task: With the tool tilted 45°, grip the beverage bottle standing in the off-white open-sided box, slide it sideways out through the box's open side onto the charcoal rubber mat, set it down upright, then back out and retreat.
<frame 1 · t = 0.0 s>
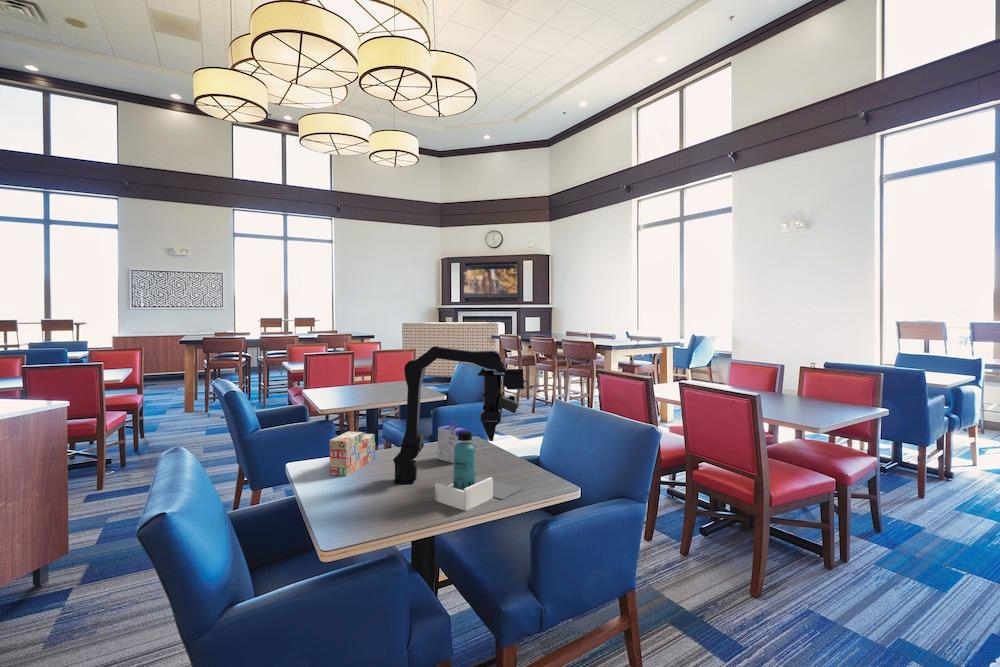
hand: (492, 437, 153), 15 cm above the table, tool pointing down, fingers open, 9 cm apart
stack of blocks: (353, 467, 169), on the table
beverage bottle: (464, 500, 138), resting in open-sided box
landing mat: (489, 487, 148), on the table
open-sided box: (464, 499, 138), on the table
ink cartridge box: (451, 460, 177), on the table
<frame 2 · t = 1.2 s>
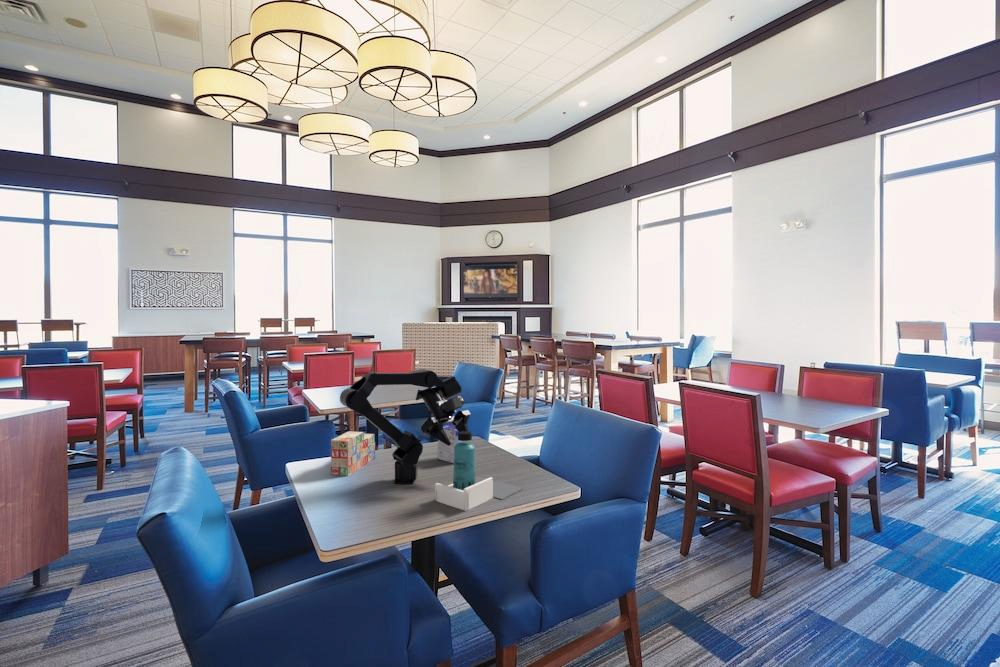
hand: (459, 442, 151), 13 cm above the table, tool tilted 45°, fingers open, 9 cm apart
nothing on the table moved.
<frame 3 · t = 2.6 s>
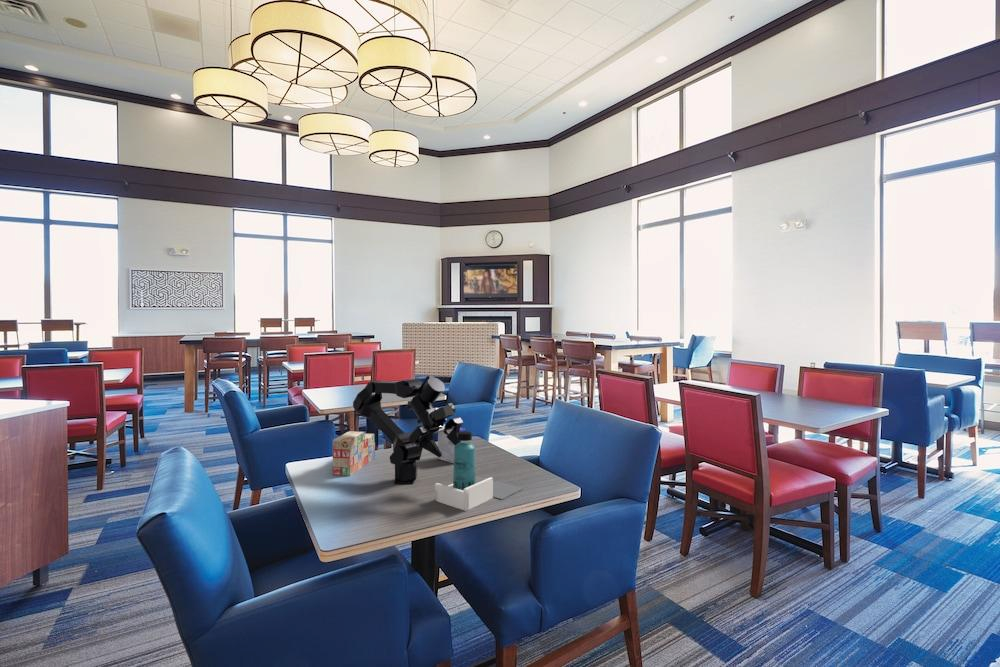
hand: (451, 452, 141), 13 cm above the table, tool tilted 45°, fingers open, 9 cm apart
nothing on the table moved.
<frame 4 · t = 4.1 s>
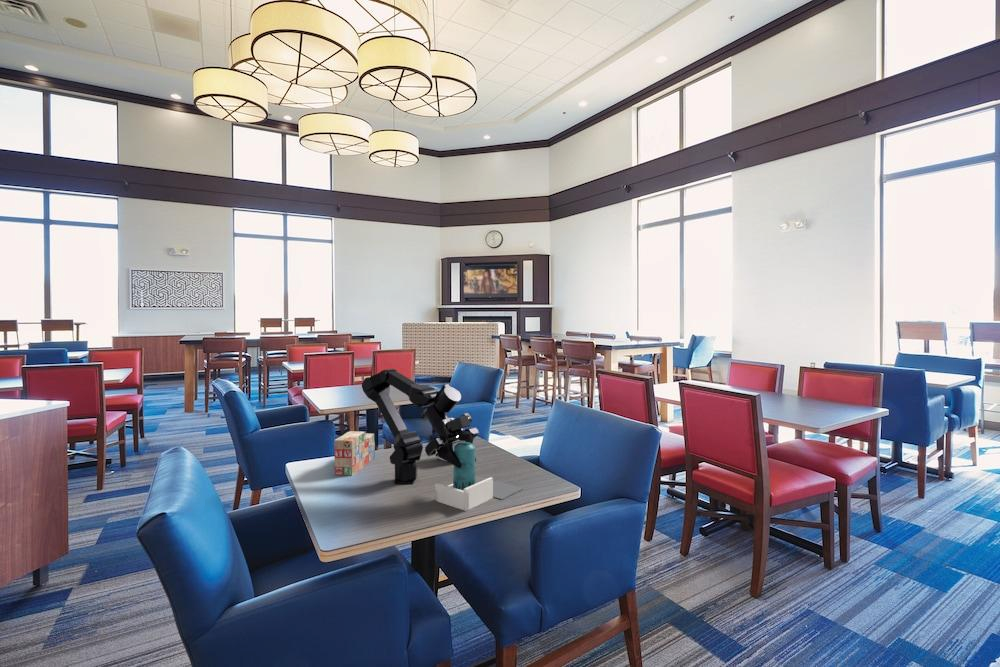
hand: (468, 464, 137), 11 cm above the table, tool tilted 45°, fingers closed on beverage bottle, 6 cm apart
beverage bottle: (464, 500, 138), resting in open-sided box, touching gripper
everything else where it was.
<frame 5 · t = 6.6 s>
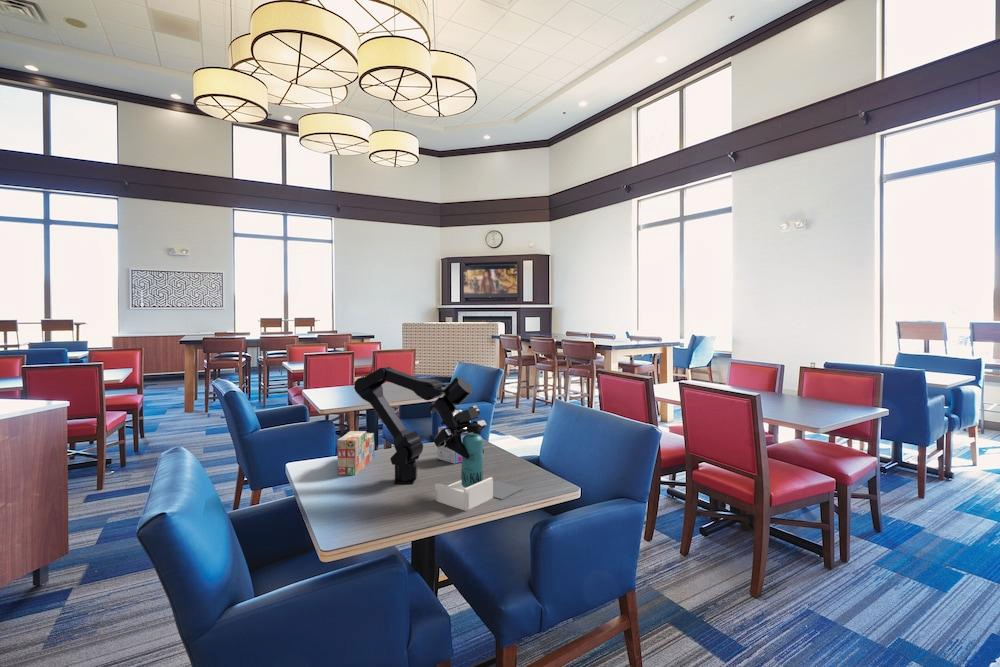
hand: (475, 455, 140), 12 cm above the table, tool tilted 45°, fingers closed on beverage bottle, 6 cm apart
beverage bottle: (472, 490, 141), point 2 cm above the table, touching gripper
when the fingers open (11 cm above the table, at t = 9.2 s): beverage bottle stays where it is, resting on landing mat.
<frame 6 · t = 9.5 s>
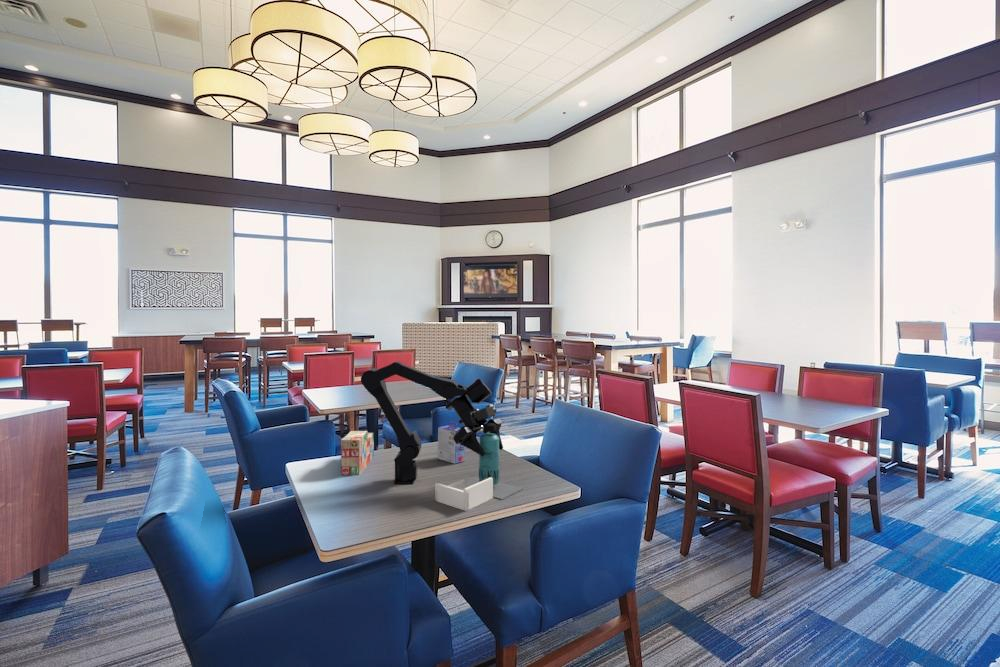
hand: (493, 452, 147), 12 cm above the table, tool tilted 45°, fingers open, 9 cm apart
beverage bottle: (489, 487, 148), resting on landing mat
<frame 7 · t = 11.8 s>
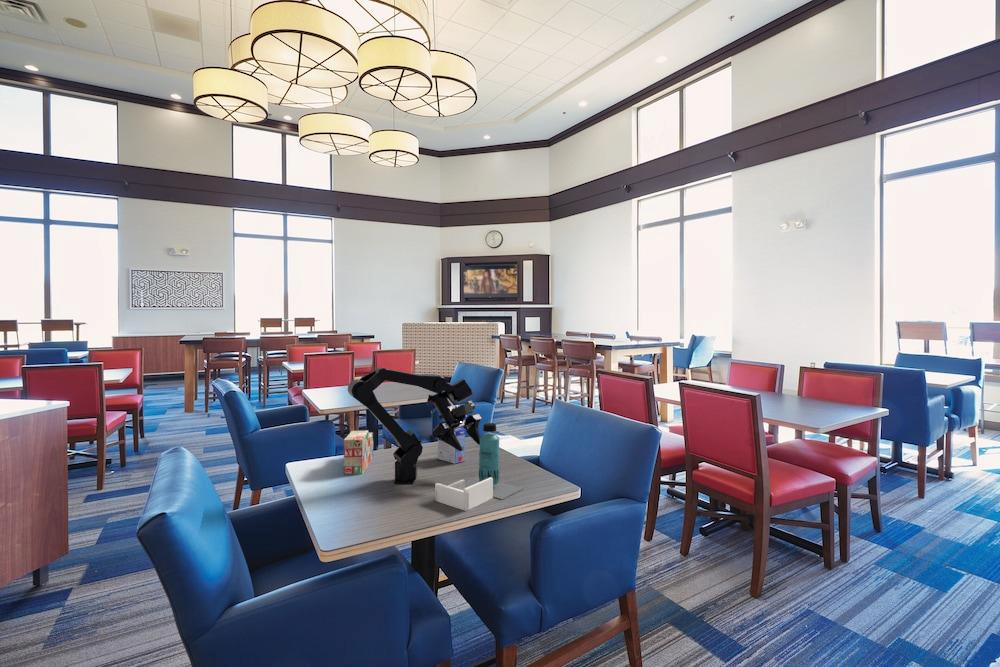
hand: (471, 447, 152), 12 cm above the table, tool tilted 45°, fingers open, 9 cm apart
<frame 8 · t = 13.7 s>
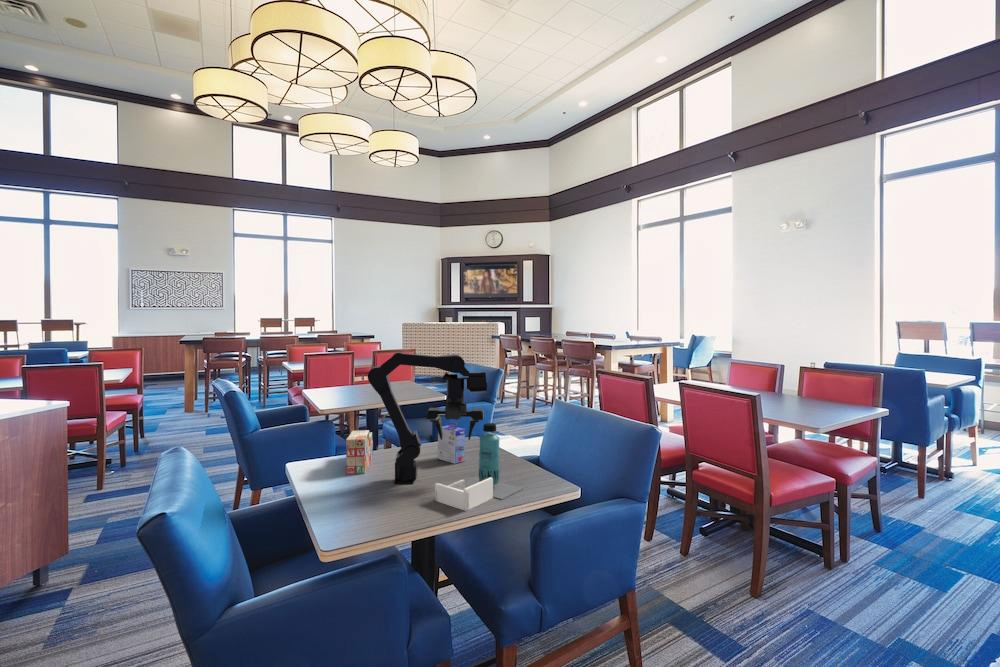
hand: (455, 439, 156), 13 cm above the table, tool pointing down, fingers open, 9 cm apart
at the end: beverage bottle inside the target area (0.4 cm from its centre), resting on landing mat; beverage bottle tilted 0°; the gripper is holding nothing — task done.
